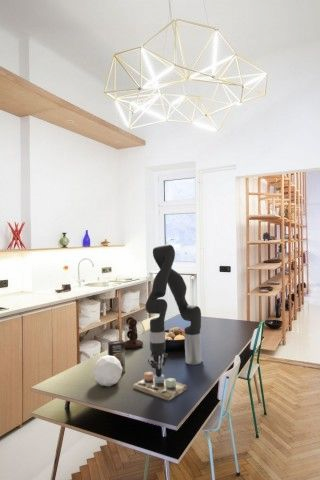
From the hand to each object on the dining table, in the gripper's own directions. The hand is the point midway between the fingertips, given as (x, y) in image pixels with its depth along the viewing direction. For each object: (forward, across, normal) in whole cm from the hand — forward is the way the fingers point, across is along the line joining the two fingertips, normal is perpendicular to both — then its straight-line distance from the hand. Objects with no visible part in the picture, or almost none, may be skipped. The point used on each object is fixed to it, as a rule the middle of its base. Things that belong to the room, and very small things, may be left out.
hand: (158, 376), depth 161 cm
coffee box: (+6, -4, -35) cm, 36 cm away
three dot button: (+2, 0, 0) cm, 2 cm away
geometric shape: (+7, +11, -25) cm, 28 cm away
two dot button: (+3, 0, -7) cm, 7 cm away
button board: (+6, 0, 0) cm, 6 cm away
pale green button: (+3, 0, +7) cm, 8 cm away
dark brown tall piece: (+6, -40, -59) cm, 71 cm away
